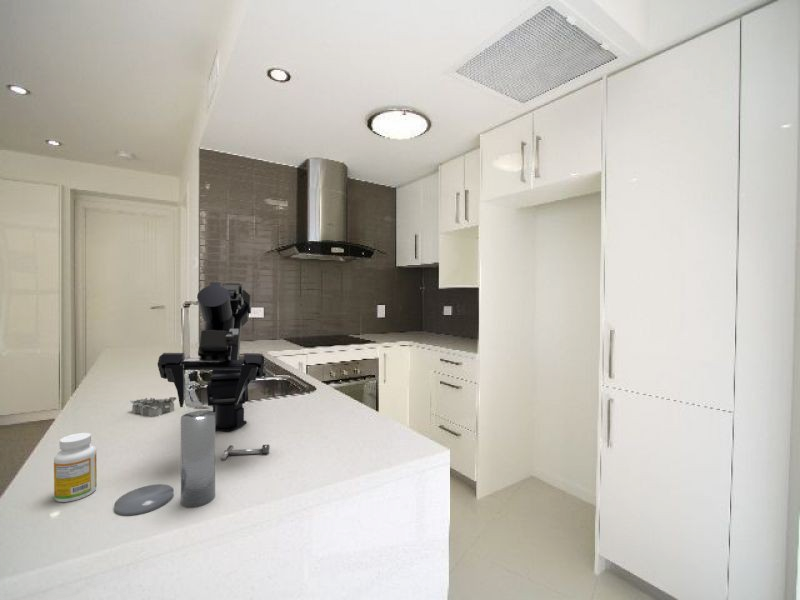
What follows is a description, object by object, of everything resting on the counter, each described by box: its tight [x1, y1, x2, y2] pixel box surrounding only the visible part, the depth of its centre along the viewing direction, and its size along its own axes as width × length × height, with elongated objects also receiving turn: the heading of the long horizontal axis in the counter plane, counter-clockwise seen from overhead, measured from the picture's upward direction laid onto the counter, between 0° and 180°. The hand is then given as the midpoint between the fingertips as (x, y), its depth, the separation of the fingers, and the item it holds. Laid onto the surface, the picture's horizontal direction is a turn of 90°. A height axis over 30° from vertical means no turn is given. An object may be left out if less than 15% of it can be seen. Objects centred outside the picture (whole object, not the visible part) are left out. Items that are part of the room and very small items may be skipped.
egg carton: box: [129, 396, 177, 418], centre depth 105 cm, size 11×8×4 cm
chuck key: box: [220, 444, 270, 461], centre depth 78 cm, size 9×5×2 cm, turn 98°
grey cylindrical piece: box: [180, 409, 216, 509], centre depth 61 cm, size 5×5×14 cm
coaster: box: [113, 484, 174, 516], centre depth 60 cm, size 8×8×1 cm
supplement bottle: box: [53, 432, 98, 503], centre depth 62 cm, size 5×5×10 cm
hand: (209, 405), depth 69 cm, fingers open, 9 cm apart
